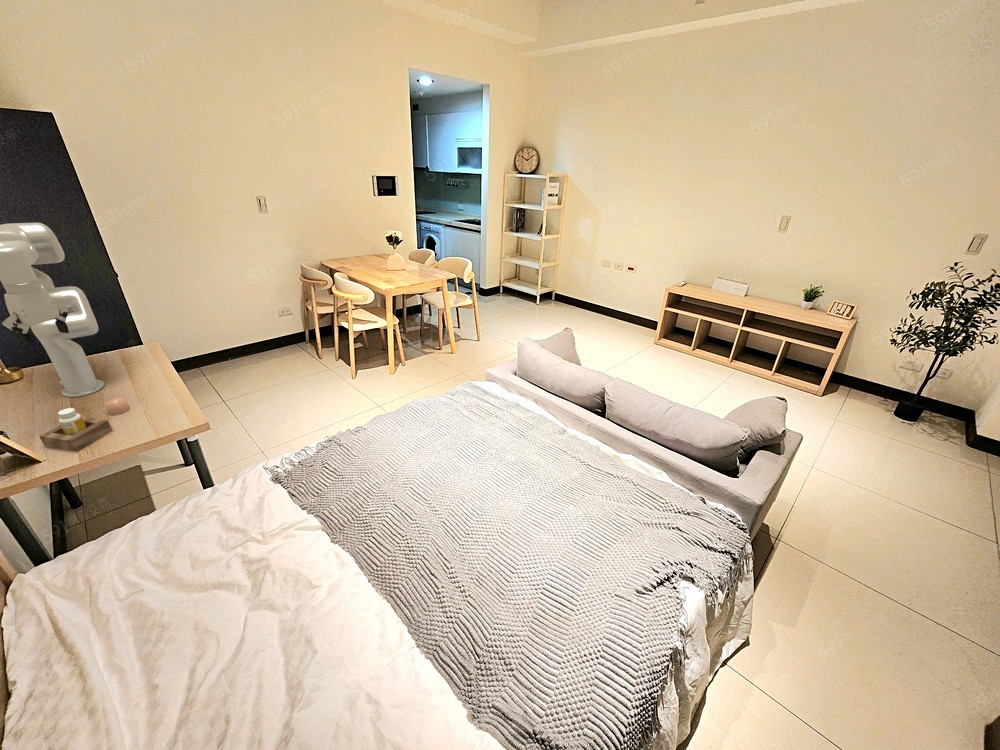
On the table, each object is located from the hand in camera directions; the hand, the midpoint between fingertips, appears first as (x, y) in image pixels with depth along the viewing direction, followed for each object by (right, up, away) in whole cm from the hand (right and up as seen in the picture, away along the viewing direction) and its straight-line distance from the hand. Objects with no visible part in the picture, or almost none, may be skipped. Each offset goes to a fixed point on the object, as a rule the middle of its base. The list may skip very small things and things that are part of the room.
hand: (48, 337), depth 135 cm
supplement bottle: (+5, -33, +5) cm, 34 cm away
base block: (+5, -35, +6) cm, 35 cm away
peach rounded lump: (+4, -26, +21) cm, 33 cm away
